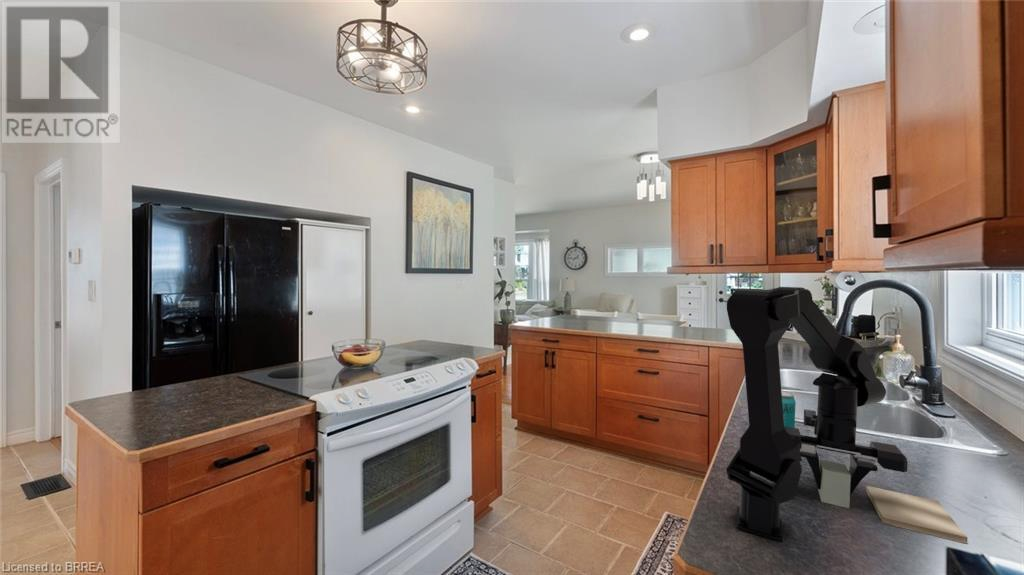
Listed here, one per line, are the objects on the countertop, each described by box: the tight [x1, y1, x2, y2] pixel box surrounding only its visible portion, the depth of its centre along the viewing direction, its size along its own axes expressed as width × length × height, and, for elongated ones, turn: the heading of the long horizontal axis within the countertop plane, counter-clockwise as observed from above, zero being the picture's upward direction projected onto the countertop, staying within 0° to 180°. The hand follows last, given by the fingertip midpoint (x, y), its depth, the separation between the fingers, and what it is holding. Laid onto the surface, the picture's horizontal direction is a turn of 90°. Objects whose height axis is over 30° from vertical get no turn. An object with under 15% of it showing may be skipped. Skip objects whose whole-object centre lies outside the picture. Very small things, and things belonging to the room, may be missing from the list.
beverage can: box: [781, 389, 796, 428], centre depth 93 cm, size 6×6×15 cm
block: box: [817, 458, 851, 509], centre depth 76 cm, size 5×4×6 cm
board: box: [865, 485, 969, 544], centre depth 71 cm, size 12×10×1 cm
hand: (833, 491), depth 76 cm, fingers closed on block, 4 cm apart
